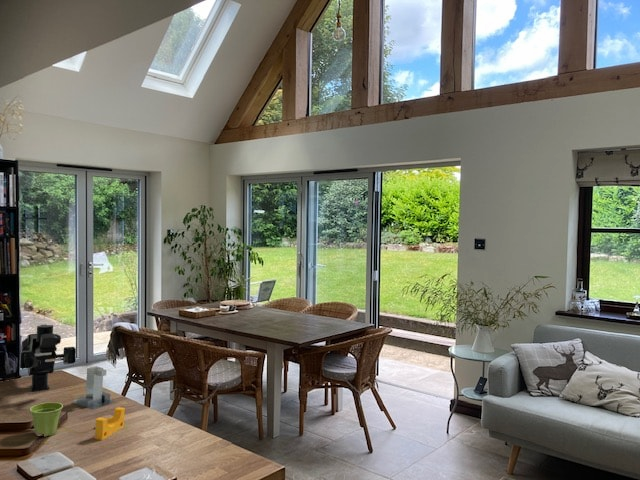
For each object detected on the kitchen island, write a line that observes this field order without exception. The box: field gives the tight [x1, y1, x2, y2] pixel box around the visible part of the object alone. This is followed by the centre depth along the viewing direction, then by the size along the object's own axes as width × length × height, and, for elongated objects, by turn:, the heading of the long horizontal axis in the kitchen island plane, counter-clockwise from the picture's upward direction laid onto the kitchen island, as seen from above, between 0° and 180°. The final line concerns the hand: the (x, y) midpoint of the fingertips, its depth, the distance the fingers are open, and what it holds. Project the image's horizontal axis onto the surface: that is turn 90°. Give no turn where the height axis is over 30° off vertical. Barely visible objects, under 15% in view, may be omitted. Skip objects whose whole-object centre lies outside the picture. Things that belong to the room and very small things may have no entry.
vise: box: [71, 391, 116, 411], centre depth 190 cm, size 12×10×4 cm
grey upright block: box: [85, 365, 107, 405], centre depth 190 cm, size 7×4×13 cm, turn 62°
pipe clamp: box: [94, 406, 126, 441], centre depth 167 cm, size 12×4×6 cm, turn 169°
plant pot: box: [29, 401, 64, 438], centre depth 163 cm, size 9×9×9 cm
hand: (52, 362), depth 186 cm, fingers open, 9 cm apart
